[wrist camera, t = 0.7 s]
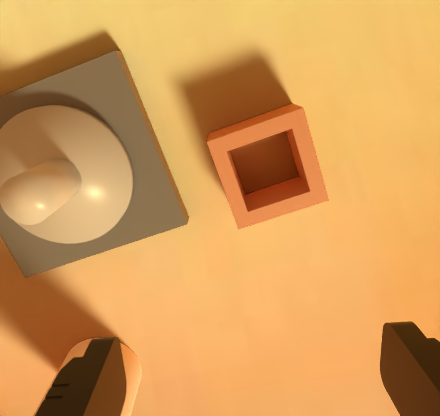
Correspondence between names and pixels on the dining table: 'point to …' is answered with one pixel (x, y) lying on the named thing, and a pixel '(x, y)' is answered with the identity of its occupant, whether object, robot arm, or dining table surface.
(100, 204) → the post plate
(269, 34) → the dining table surface
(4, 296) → the dining table surface
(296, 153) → the collar
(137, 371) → the cylindrical container
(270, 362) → the dining table surface
